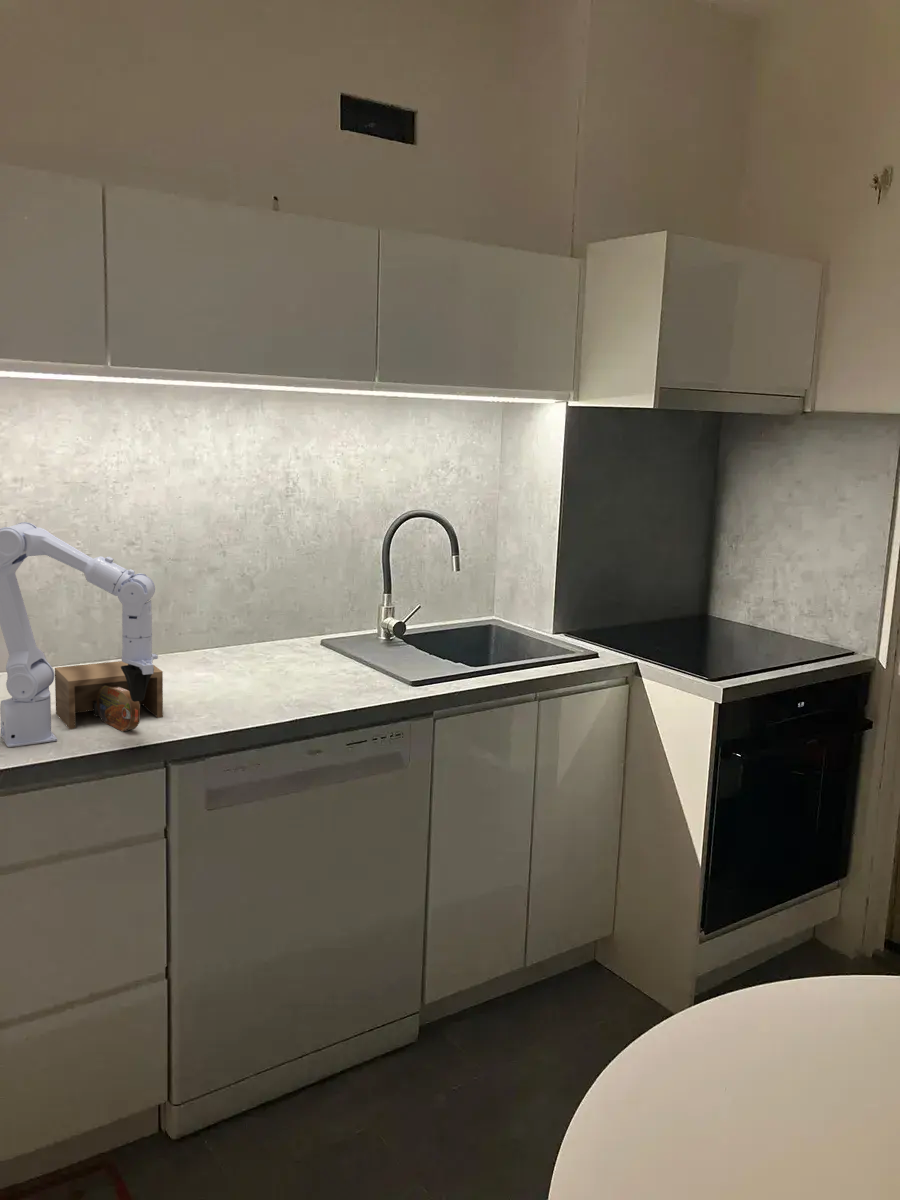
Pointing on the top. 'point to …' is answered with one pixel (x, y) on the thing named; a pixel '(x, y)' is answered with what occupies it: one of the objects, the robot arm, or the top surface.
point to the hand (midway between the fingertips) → (137, 700)
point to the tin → (118, 708)
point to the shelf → (84, 683)
